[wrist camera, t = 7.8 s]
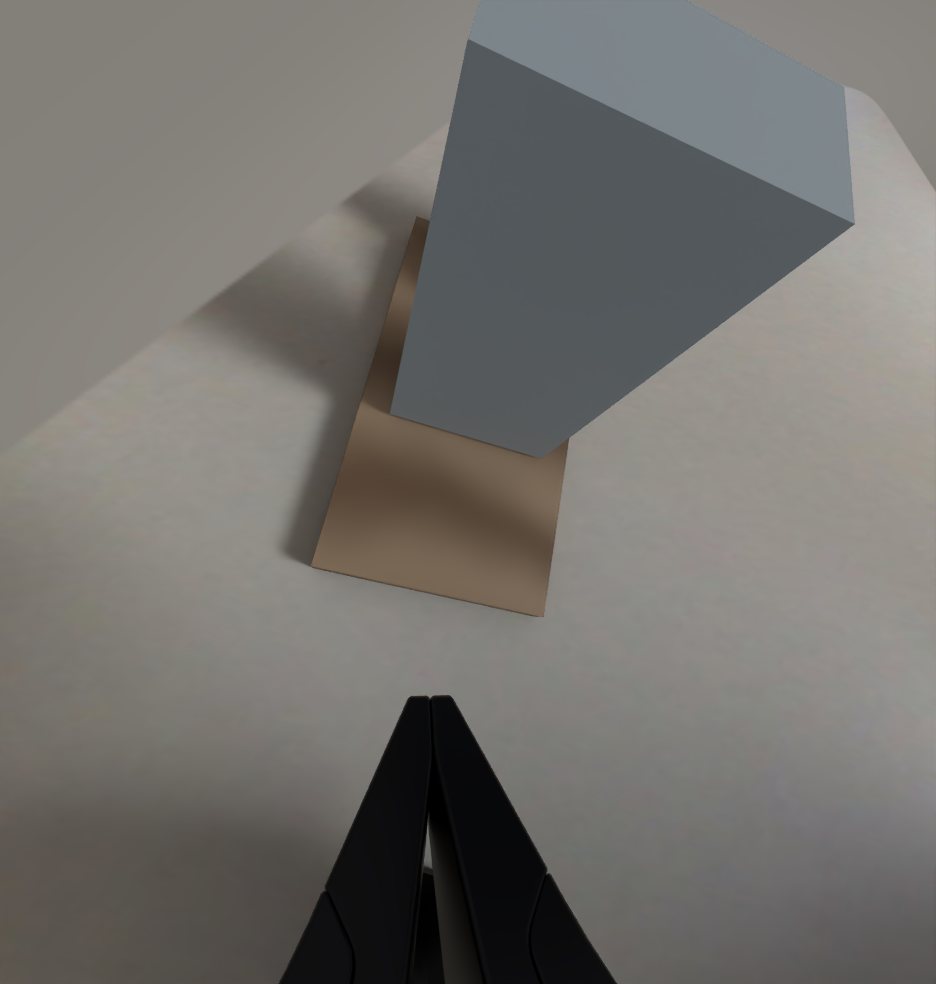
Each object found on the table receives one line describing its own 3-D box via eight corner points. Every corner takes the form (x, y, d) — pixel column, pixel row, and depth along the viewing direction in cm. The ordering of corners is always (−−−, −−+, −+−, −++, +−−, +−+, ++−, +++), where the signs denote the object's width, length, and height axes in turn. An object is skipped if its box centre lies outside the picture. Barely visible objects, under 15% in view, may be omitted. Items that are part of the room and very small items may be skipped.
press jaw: (541, 458, 23) (854, 224, 9) (389, 414, 21) (468, 38, 7) (552, 391, 24) (844, 86, 10) (408, 344, 22) (509, -98, 8)
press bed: (533, 616, 22) (614, 623, 15) (313, 567, 20) (294, 550, 13) (581, 296, 28) (655, 199, 21) (413, 233, 26) (436, 101, 19)
